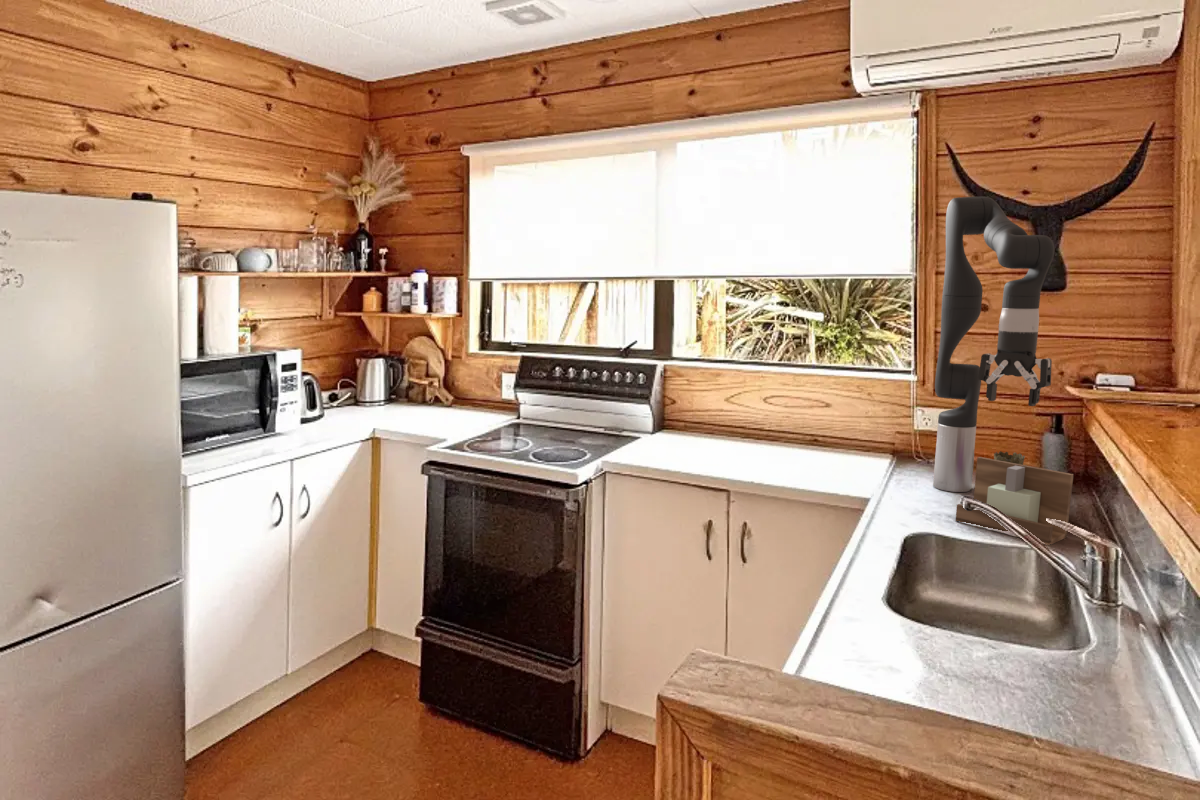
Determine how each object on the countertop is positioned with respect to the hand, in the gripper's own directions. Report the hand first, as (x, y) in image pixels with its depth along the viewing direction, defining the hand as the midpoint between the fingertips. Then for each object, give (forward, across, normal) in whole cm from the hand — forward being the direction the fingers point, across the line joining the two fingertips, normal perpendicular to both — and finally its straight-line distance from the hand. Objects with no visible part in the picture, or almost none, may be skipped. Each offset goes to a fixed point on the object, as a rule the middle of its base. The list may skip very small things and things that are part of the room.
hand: (1011, 403), depth 168 cm
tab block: (+27, -2, 0) cm, 27 cm away
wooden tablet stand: (+28, -2, +1) cm, 28 cm away
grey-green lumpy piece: (+29, +17, -40) cm, 52 cm away
